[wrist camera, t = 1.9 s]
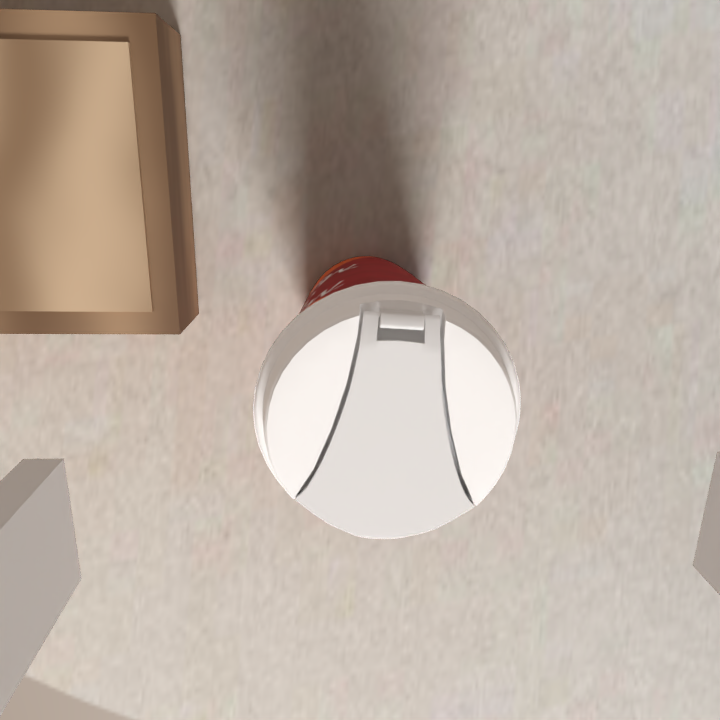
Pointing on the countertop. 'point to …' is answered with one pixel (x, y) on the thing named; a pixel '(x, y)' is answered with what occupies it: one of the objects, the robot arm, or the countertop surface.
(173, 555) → the countertop surface
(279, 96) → the countertop surface
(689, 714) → the countertop surface
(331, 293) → the paper cup
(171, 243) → the plinth
